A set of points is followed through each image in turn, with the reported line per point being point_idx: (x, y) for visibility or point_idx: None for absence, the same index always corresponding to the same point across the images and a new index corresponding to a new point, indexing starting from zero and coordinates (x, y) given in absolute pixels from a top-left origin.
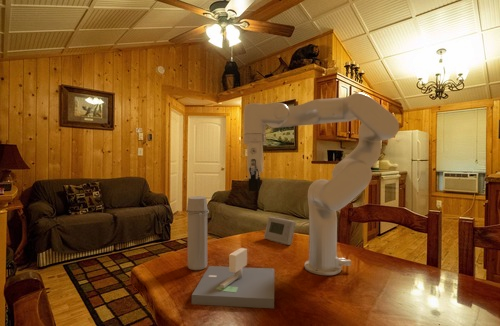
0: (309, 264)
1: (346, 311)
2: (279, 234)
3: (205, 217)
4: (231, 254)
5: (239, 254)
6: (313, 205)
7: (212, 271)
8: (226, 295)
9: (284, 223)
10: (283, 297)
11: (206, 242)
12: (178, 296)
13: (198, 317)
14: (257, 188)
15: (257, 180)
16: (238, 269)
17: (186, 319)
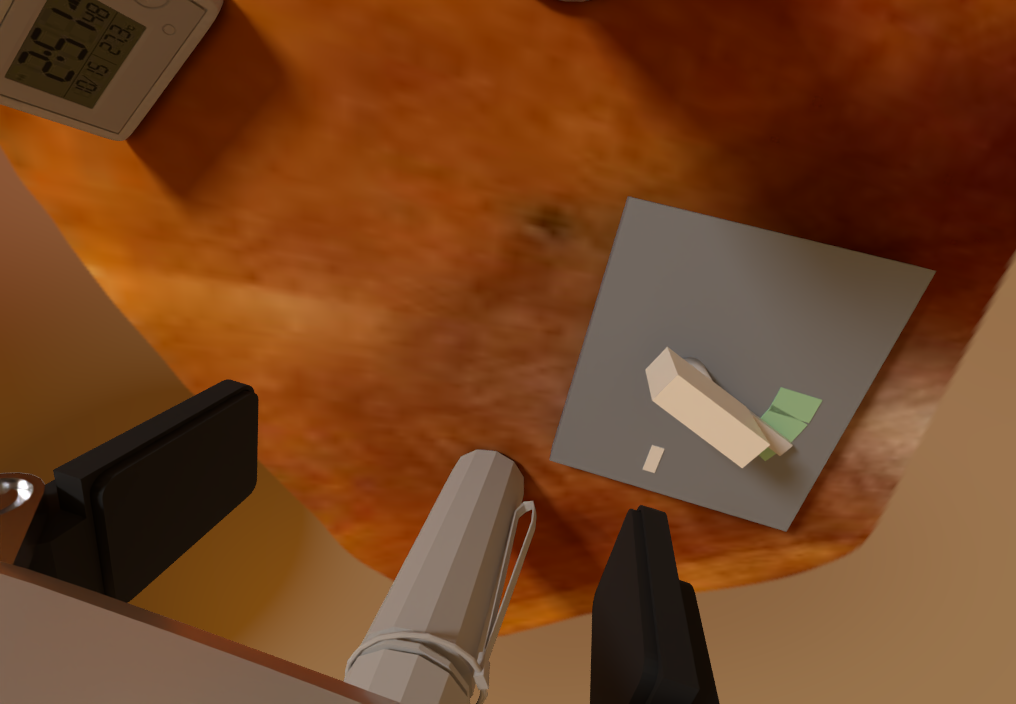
0: None
1: None
2: (135, 44)
3: (451, 624)
4: (745, 459)
5: (740, 420)
6: None
7: (605, 454)
8: (833, 433)
9: None
10: (839, 205)
11: (479, 515)
12: (710, 541)
13: (865, 499)
14: (664, 543)
15: (688, 670)
16: (729, 394)
17: (863, 528)
